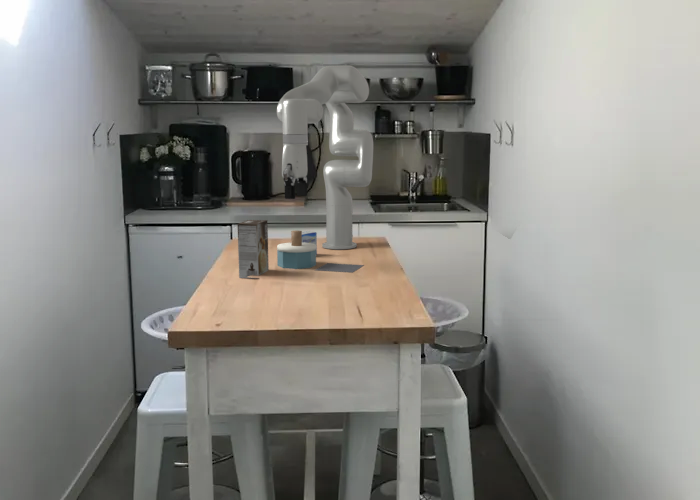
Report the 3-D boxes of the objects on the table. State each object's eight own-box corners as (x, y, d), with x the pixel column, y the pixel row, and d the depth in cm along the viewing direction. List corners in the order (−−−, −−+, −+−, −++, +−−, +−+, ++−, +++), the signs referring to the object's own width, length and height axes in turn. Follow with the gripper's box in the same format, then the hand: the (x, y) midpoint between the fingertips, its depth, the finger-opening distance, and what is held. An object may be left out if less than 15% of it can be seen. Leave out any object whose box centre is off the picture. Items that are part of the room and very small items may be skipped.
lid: (286, 245, 231) (285, 227, 230) (321, 247, 227) (321, 229, 226) (271, 251, 219) (270, 233, 219) (307, 253, 216) (307, 234, 215)
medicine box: (301, 260, 237) (301, 234, 236) (291, 259, 240) (291, 233, 238) (317, 257, 243) (317, 231, 242) (307, 256, 246) (306, 230, 244)
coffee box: (249, 272, 219) (247, 219, 216) (269, 272, 217) (268, 219, 215) (238, 278, 210) (236, 223, 207) (259, 279, 208) (258, 224, 206)
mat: (327, 266, 227) (327, 263, 227) (364, 268, 224) (364, 265, 224) (314, 273, 216) (314, 270, 216) (352, 275, 213) (352, 272, 212)
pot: (287, 264, 231) (286, 245, 230) (319, 266, 228) (319, 247, 227) (273, 270, 221) (272, 251, 220) (307, 272, 217) (306, 253, 216)
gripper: (294, 139, 227) (295, 194, 230) (272, 141, 211) (273, 199, 214) (316, 139, 225) (317, 194, 228) (296, 141, 208) (297, 200, 211)
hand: (296, 197), depth 221 cm, fingers open, 9 cm apart
